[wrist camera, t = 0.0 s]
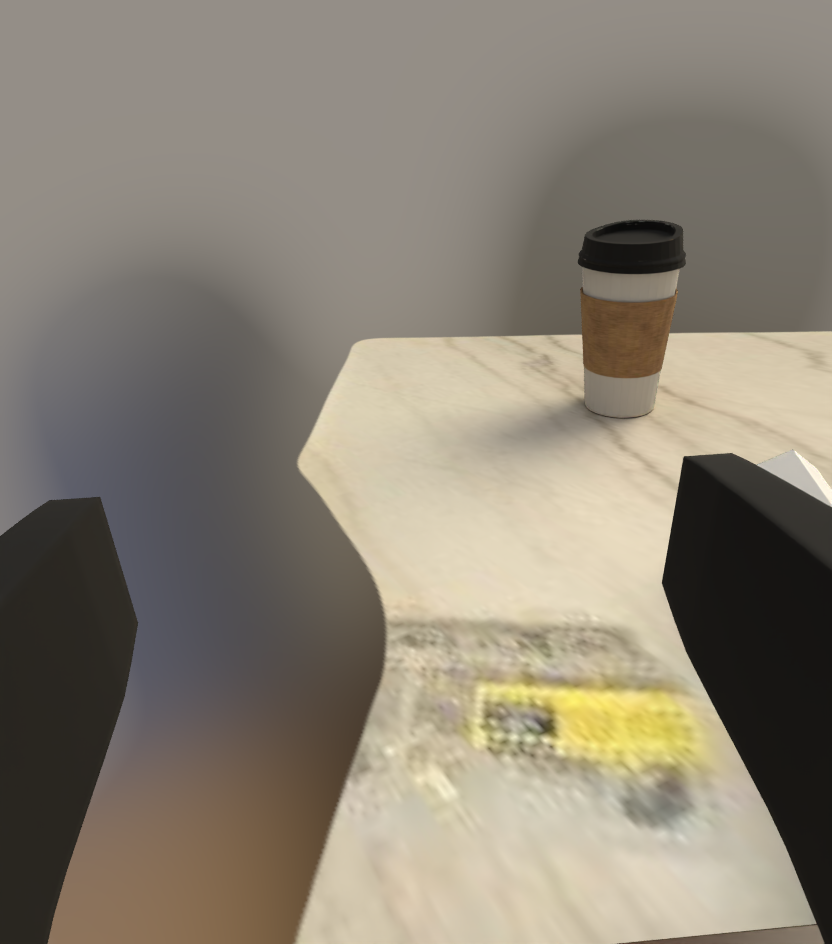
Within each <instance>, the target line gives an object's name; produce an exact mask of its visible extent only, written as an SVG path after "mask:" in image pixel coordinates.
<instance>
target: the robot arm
mask: <svg viewBox="0 0 832 944" xmlns="http://www.w3.org/2000/svg"><path fill="white" fill-rule="evenodd" d="M662 585H663V588H664V591H665V594H666V597H667V600H668V603H669V606H670V609H671V612H672V614H673V617H674V620H675V623H676V626H677V628H678V631H679V634H680V636H681V639H682V642H683V645H684V647H685V650H686V652H687V654H688V656H689V658H690V660H691V662H692V664H693V666H694V668H695V670H696V672H697V674H698V676H699V678H700V680H701V682H702V684H703V686H704V688H705V690H706V692H707V694H708V696H709V697H710V699H711V701H712V703H713V705H714V707H715V709H716V711H717V713H718V715H719V717H720V719H721V720H722V722H723V724H724V726H725V728H726V730H727V732H728V734H729V736H730V738H731V740H732V741H733V743H734V745H735V747H736V749H737V751H738V753H739V755H740V757H741V759H742V760H743V762H744V764H745V766H746V768H747V770H748V772H749V774H750V776H751V778H752V779H753V781H754V783H755V785H756V787H757V789H758V791H759V793H760V795H761V797H762V799H763V800H764V802H765V804H766V806H767V808H768V810H769V812H770V814H771V816H772V819H773V821H774V823H775V825H776V827H777V829H778V831H779V833H780V836H781V838H782V840H783V842H784V844H785V846H786V849H787V851H788V853H789V856H790V858H791V861H792V863H793V866H794V868H795V871H796V873H797V876H798V878H799V881H800V883H801V886H802V888H803V891H804V893H805V896H806V898H807V901H808V903H809V905H810V908H811V910H812V913H813V915H814V918H815V920H816V923H817V925H818V928H819V930H820V933H821V936H822V938H823V941H824V944H832V507H831V506H829V505H827V504H825V503H823V502H822V501H820V500H818V499H816V498H815V497H813V496H811V495H809V494H808V493H806V492H804V491H802V490H801V489H799V488H797V487H795V486H794V485H792V484H790V483H788V482H787V481H785V480H783V479H781V478H779V477H778V476H776V475H774V474H772V473H770V472H769V471H767V470H765V469H763V468H761V467H759V466H757V465H755V464H753V463H751V462H749V461H747V460H745V459H743V458H741V457H739V456H737V455H735V454H732V453H727V454H713V455H698V456H684V458H683V464H682V469H681V475H680V481H679V487H678V493H677V498H676V504H675V510H674V516H673V522H672V527H671V533H670V539H669V545H668V550H667V556H666V562H665V568H664V574H663V579H662ZM137 626H138V622H137V618H136V615H135V612H134V608H133V605H132V602H131V598H130V595H129V592H128V588H127V585H126V581H125V578H124V575H123V571H122V569H121V565H120V561H119V558H118V555H117V552H116V548H115V545H114V542H113V538H112V535H111V532H110V528H109V525H108V522H107V518H106V515H105V512H104V508H103V505H102V502H101V498H100V497H92V498H79V499H63V500H49V501H48V502H46V503H45V504H43V505H42V506H40V507H39V508H37V509H36V510H34V511H33V512H31V513H30V514H29V515H27V516H26V517H25V518H23V519H22V520H20V521H19V522H18V523H16V524H15V525H14V526H13V527H11V528H10V529H9V530H7V531H6V532H5V533H4V534H2V535H1V536H0V944H47V943H48V939H49V934H50V930H51V926H52V921H53V917H54V913H55V909H56V906H57V903H58V899H59V896H60V892H61V889H62V885H63V882H64V879H65V875H66V872H67V869H68V866H69V863H70V860H71V857H72V854H73V851H74V848H75V845H76V842H77V839H78V836H79V833H80V830H81V827H82V824H83V821H84V818H85V815H86V812H87V809H88V806H89V803H90V800H91V797H92V794H93V791H94V788H95V785H96V782H97V779H98V776H99V773H100V770H101V767H102V765H103V762H104V759H105V755H106V752H107V749H108V746H109V743H110V740H111V737H112V734H113V731H114V728H115V725H116V722H117V719H118V716H119V713H120V709H121V706H122V702H123V700H124V696H125V692H126V687H127V681H128V677H129V672H130V667H131V662H132V656H133V650H134V644H135V638H136V632H137Z"/></svg>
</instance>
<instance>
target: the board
mask: <svg viewBox="0 0 832 944" xmlns="http://www.w3.org/2000/svg"><path fill="white" fill-rule="evenodd" d="M619 944H824V941H823V938H822V936H821V933H820V930H819V928H818V925H817V924H813V925H803V926H793V927H783V928H772V929H762V930H752V931H742V932H731V933H721V934H711V935H701V936H690V937H680V938H670V939H660V940H650V941H639V942H629V943H619Z"/></svg>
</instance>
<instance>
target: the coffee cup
mask: <svg viewBox="0 0 832 944" xmlns="http://www.w3.org/2000/svg"><path fill="white" fill-rule="evenodd" d="M685 256H686V253H685V252H684V250H683V229H682V227H681V226H679V225H677V224H674V223H670V222H665V221H657V220H656V221H655V220H629V221H621V222H615V223H611V224H607V225H604V226H601V227H598V228H595V229H593V230H590V231H589V232H587V233H586V234H585V237H584V242H583V247H582V250H581V251H580V253H579V259H578V264H579V265H580V266H582V267H583V287H582V288H581V289H580V290H581V314H582V340H583V364H584V398H585V405H586V407H587V408H588V409H589V410H591V411H593V412H594V413H597V414H600V415H604V416H609V417H618V418H629V417H637V416H642V415H645V414H647V413H649V412H651V411H652V409H653V408H654V404H655V399H656V393H657V388H658V382H659V377H660V371H661V369H662V364H663V360H664V355H665V350H666V346H667V341H668V336H669V331H670V327H671V322H672V317H673V312H674V308H675V303H676V298H677V293H678V290H677V289H676V285H677V280H678V274H679V269H680V268H682V267H684V266H685V264H686V262H685Z"/></svg>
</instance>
